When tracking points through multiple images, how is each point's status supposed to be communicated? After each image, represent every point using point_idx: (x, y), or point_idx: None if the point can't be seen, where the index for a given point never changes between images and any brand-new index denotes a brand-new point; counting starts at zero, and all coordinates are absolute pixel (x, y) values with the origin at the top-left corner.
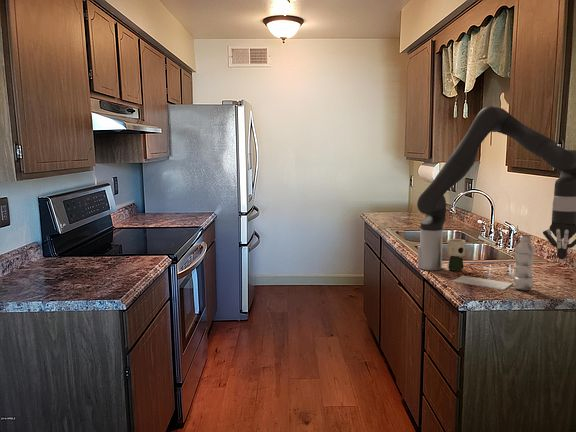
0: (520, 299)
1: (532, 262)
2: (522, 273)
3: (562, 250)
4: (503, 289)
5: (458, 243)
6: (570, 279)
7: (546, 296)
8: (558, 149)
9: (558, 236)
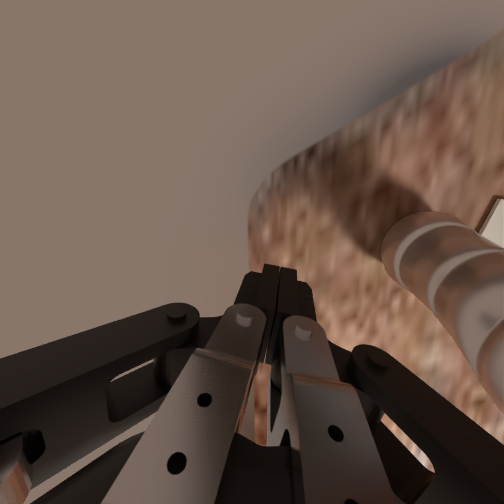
0: (443, 74)
1: (442, 309)
2: (471, 235)
3: (269, 302)
4: (501, 199)
5: None
6: (256, 402)
7: (327, 185)
8: None
9: (348, 487)
